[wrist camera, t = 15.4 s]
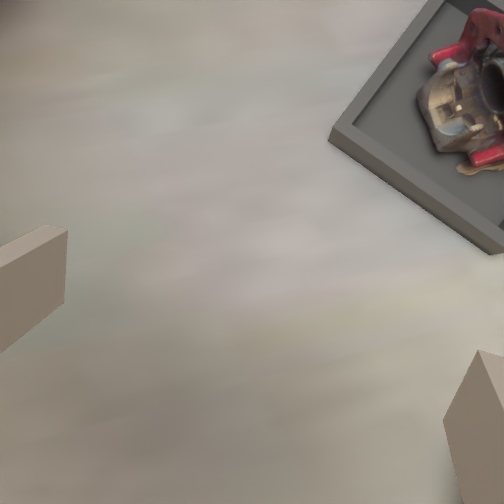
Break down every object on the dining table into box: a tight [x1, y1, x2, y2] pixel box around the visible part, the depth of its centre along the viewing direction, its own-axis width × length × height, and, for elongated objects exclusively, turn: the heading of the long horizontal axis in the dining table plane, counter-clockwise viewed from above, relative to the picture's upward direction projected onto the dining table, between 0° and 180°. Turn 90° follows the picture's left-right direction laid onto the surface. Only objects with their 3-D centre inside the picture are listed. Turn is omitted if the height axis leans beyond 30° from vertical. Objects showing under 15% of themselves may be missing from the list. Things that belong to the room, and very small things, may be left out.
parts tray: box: [328, 0, 504, 255], centre depth 37 cm, size 16×16×3 cm
